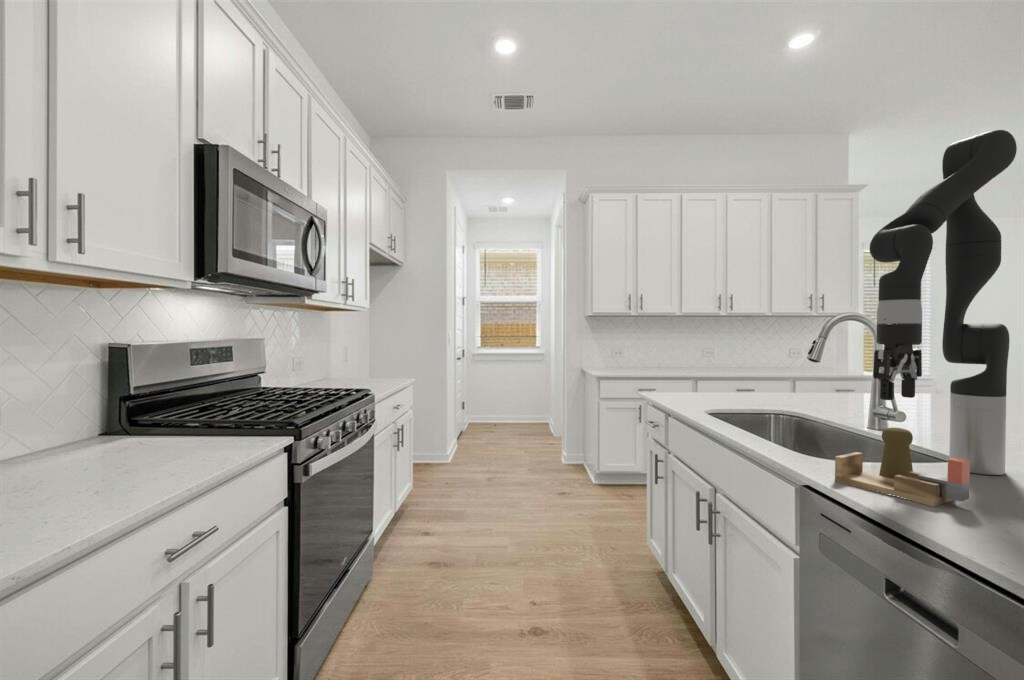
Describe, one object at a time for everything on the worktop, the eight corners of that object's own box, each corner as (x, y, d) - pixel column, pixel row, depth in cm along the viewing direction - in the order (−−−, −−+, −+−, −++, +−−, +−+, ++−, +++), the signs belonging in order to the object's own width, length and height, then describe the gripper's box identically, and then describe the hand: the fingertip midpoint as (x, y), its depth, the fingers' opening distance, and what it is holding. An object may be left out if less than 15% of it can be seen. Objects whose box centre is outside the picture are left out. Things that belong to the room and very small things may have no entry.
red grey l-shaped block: (925, 488, 93) (926, 452, 93) (969, 498, 88) (969, 460, 88) (917, 490, 92) (918, 453, 92) (961, 501, 86) (962, 462, 86)
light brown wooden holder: (856, 475, 107) (856, 452, 107) (954, 499, 92) (955, 472, 91) (834, 480, 103) (835, 456, 103) (933, 506, 88) (934, 478, 88)
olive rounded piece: (921, 485, 100) (922, 431, 100) (888, 483, 101) (888, 430, 101) (904, 476, 106) (905, 426, 106) (872, 474, 107) (873, 425, 107)
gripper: (896, 322, 110) (894, 394, 110) (860, 321, 103) (859, 398, 103) (937, 322, 103) (935, 398, 103) (902, 321, 97) (900, 403, 97)
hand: (897, 398), depth 103 cm, fingers open, 8 cm apart
